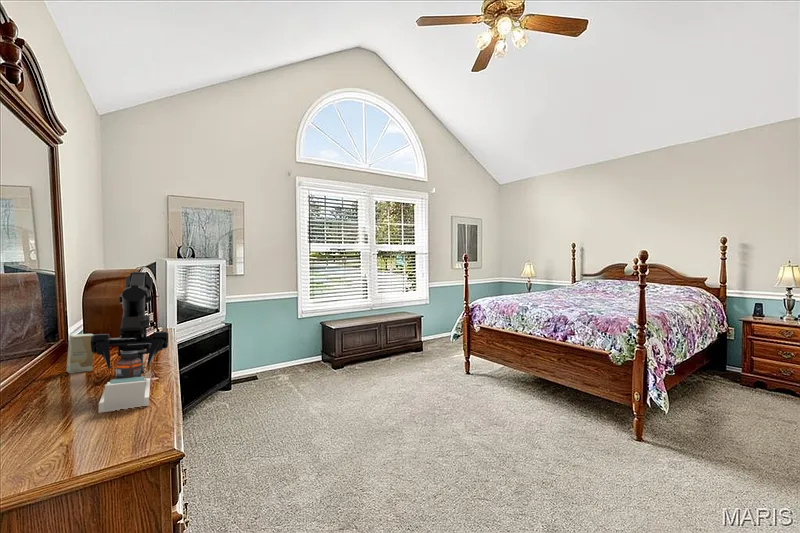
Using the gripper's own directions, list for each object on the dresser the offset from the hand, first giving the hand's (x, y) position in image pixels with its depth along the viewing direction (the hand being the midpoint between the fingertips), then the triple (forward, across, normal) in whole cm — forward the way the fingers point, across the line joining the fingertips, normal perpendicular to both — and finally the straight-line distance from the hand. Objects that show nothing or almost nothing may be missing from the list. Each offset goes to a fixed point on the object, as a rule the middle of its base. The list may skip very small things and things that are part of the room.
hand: (129, 366), depth 109 cm
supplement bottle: (+6, 0, +5) cm, 7 cm away
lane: (+8, 0, +3) cm, 9 cm away
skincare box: (-18, -15, +29) cm, 37 cm away
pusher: (+9, 0, +2) cm, 9 cm away
